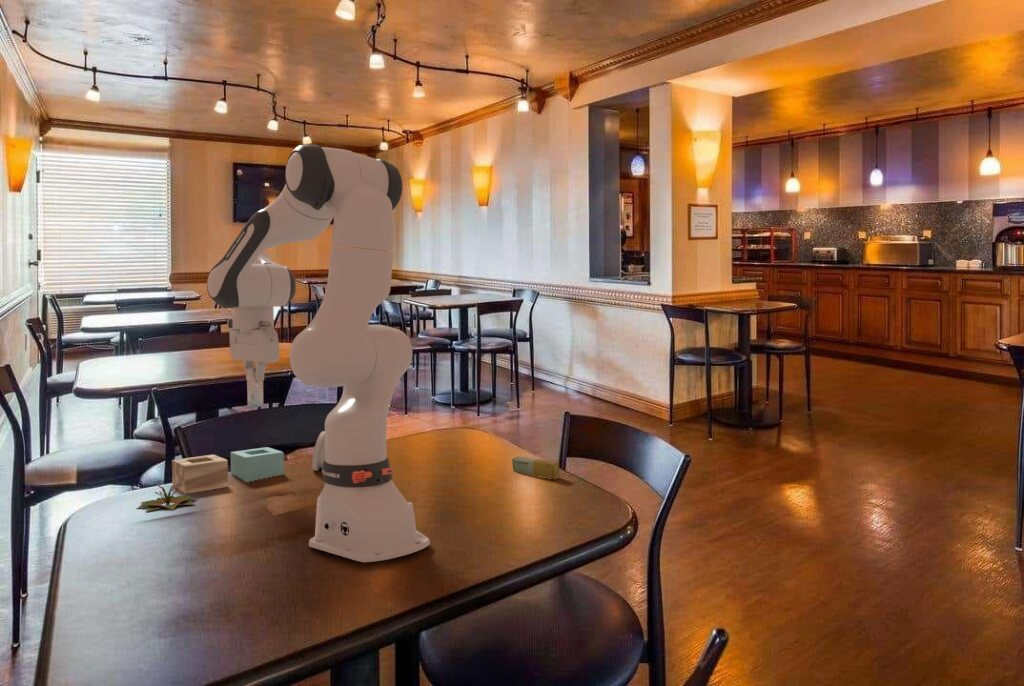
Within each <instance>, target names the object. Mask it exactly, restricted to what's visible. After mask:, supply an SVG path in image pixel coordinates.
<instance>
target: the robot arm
mask: <svg viewBox="0 0 1024 686" xmlns="http://www.w3.org/2000/svg"><path fill="white" fill-rule="evenodd" d="M285 165H286V166H285V171H284V172H285V176H284V177H285V185H284V187H283V189H282V191H281V192H280V194H279V195H278V196H277V197H276V198H275V199H274V200H273V201H271V203H269V204H268V205H266V206H265V207H264V208H262V209H260V210H258V211H256V212H255V213H254V214H252V216H251V217H250V218H249V219H248V221H247V222H246V223H245V224H244V226H243V228H242V229H241V231H240V232H239V233H238V235H237V236H236V238H235V239H234V241H233V242H232V244H231V245H230V247H229V248H228V250H227V251H226V253H225V254H224V255H223V256H222V258H221V259H220V260H219V261H218V262H216V264H214V265H213V267H212V268H211V269H210V271H209V273H208V274H207V275H208V276H207V281H206V290H207V294H208V296H209V298H211V300H212V301H213V302H215V304H217V305H218V306H219V307H220V308H222V309H233V310H232V311H233V314H232V316H231V317H230V318H229V319H228V320H227V322H226V323H227V326H226V327H227V329H228V330H230V331H229V349H230V350H229V351H230V355H231V358H232V360H237V361H243V362H242V363H243V365H242V366H243V368H244V372H245V378H246V380H247V368H256V373H254V380H255V381H263V382H264V380H265V372H266V370H267V363H277V362H278V361H279V359H280V343H279V337H278V332H277V330H276V329H275V326H274V325H275V323H274V320H275V319H274V317H275V316H274V307H275V308H276V307H283V306H287V305H288V304H289V303H290V302H291V301H292V300H293V298H294V297H295V296H296V291H297V290H296V287H297V286H296V285H297V282H296V277H295V275H294V273H293V272H292V270H291V269H289V267H287V266H285V265H282V264H279V263H276V262H275V261H273V260H272V258H271V256H270V254H269V253H266V252H265V251H266V250H267V249H270V248H273V247H276V246H280V245H285V244H286V245H287V244H291V243H299V242H300V243H301V242H306V241H310V240H313V239H315V238H317V237H319V236H321V235H322V234H323V233H324V232H325V231H326V230H327V229H328V228H329V225H330V224H331V222H332V220H333V227H332V232H331V234H332V235H331V246H330V256H329V266H328V275H327V283H326V289H325V293H324V296H323V299H322V301H321V304H320V306H319V308H318V310H317V312H316V313H315V315H314V317H313V319H312V320H311V322H310V323H309V324H308V325H307V326H306V327H305V328H304V329H303V330H302V331H300V332H299V333H298V334H297V335H296V336H295V337H294V339H293V341H292V343H291V345H290V349H289V364H290V368H291V370H292V372H293V375H294V376H295V377H296V378H297V380H299V382H301V383H303V384H305V385H308V386H313V387H314V386H315V387H320V388H327V389H328V388H329V389H330V388H338V387H339V388H340V387H343V392H342V394H341V397H340V399H339V401H338V402H337V405H335V407H333V408H332V410H331V411H329V413H328V414H327V416H326V418H325V419H324V420H325V421H324V431H325V461H324V462H323V468H321V471H322V472H321V474H322V481H323V482H324V485H323V488H322V491H321V492H320V494H319V495H318V497H317V498H316V499H317V500H316V511H315V513H316V514H315V530H314V536H313V537H311V538H310V539H309V540H308V547H310V548H313V549H316V550H318V551H319V550H320V551H324V552H326V553H329V554H333V555H335V556H341V557H343V558H346V559H349V560H353V561H356V562H361V563H371V562H372V563H373V562H379V561H387V560H391V559H395V558H398V557H403V556H407V555H411V554H412V553H415V552H418V551H421V550H423V549H425V548H426V547H428V546H429V545H430V544H431V543H430V539H429V537H427V536H426V535H425V534H423V533H421V532H419V531H418V530H417V527H416V525H417V524H416V518H415V508H414V504H413V502H409V501H407V499H406V498H405V497H404V496H403V494H402V493H401V491H400V490H399V488H398V487H397V486H396V485H395V483H394V481H393V480H392V479H393V478H394V477H393V474H395V472H394V471H392V470H394V469H395V467H393V466H392V464H391V463H390V460H389V457H388V456H387V428H388V427H387V424H388V415H389V409H390V404H391V402H392V398H393V395H394V392H395V389H396V388H397V387H396V386H397V385H398V383H399V381H400V379H401V378H402V376H403V375H404V374H405V373H406V372H407V371H408V369H409V368H410V367H411V363H412V360H413V346H412V341H410V338H409V337H408V336H407V334H406V333H405V332H404V331H403V330H400V329H398V328H395V327H392V326H388V325H383V324H369V322H370V320H371V318H372V317H373V313H374V312H375V310H376V309H377V307H378V306H379V305H380V304H381V303H382V302H383V303H384V301H385V300H386V299H388V297H389V295H390V292H391V285H392V273H393V272H392V271H393V263H394V251H395V250H394V248H395V223H394V222H395V221H394V210H395V209H396V208H397V206H398V204H399V202H400V201H401V199H402V194H403V180H402V176H401V174H400V170H399V169H398V168H397V167H396V166H395V165H394V164H392V163H391V162H388V161H386V160H383V159H381V158H377V159H376V158H374V157H370V156H367V155H364V154H361V153H358V152H353V151H352V150H348V149H344V148H336V147H328V146H327V147H326V146H325V147H324V146H321V145H318V144H300V145H298V146H296V147H295V148H294V149H293V150H292V151H291V153H290V154H289V156H288V158H287V161H286V164H285ZM254 365H255V366H254Z"/></svg>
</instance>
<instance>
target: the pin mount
mask: <svg viewBox="0 0 1024 686" xmlns="http://www.w3.org/2000/svg"><path fill="white" fill-rule="evenodd" d="M228 464H229V461H228V459H226V458H224V457H221V456H219V455H216V454H207V455H206V454H205V455H201V456H200V455H199V456H193V457H185V458H177V459H171V468H172V469H171V470H172V471H171V472H172V473H171V475H172V482H171V483H172V486H173V485H174V486H175V487H174V489H176V488H177V490H178V491H180V492H182V493H183V494H186V495H188V494H193V493H199V492H206V491H211V490H214V489H215V490H216V489H222V488H223V489H224V488H227V487H229V469H228V468H229V465H228ZM174 482H175V483H174ZM173 483H174V484H173ZM178 483H179V484H178ZM177 484H178V485H177Z"/></svg>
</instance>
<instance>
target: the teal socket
mask: <svg viewBox="0 0 1024 686" xmlns="http://www.w3.org/2000/svg"><path fill="white" fill-rule="evenodd" d="M284 459H285V458H284V452H283V451H281V450H278V449H275V448H272V447H267V446H266V447H259V448H251V449H245V450H244V449H242V450H236V451H230V474H232V475H233V476H235V477H236V478H238V479H239V480H240V481H241V480H242V481H243V482H245V483H246V482H248V483H250V482H249V481H252V482H255V481H254V480H257V481H259V480H258V479H261V480H264V479H263V478H265V479H268V477H270V478H273V477H272V476H274V477H278V476H283V475H284V474H285V468H284V467H285V465H284Z"/></svg>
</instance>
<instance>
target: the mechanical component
mask: <svg viewBox="0 0 1024 686" xmlns="http://www.w3.org/2000/svg"><path fill="white" fill-rule="evenodd" d="M315 442H316V443H315V445H314V449H313V454H312V463H311V464H312V465H311V466H312V471H313V470H314V472H315V471H316V472H317V471H320V469H322V468H323V462H324V461H325V430H324V431H321V432H320V433H319V435H318V437H317V439H316V441H315Z"/></svg>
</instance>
